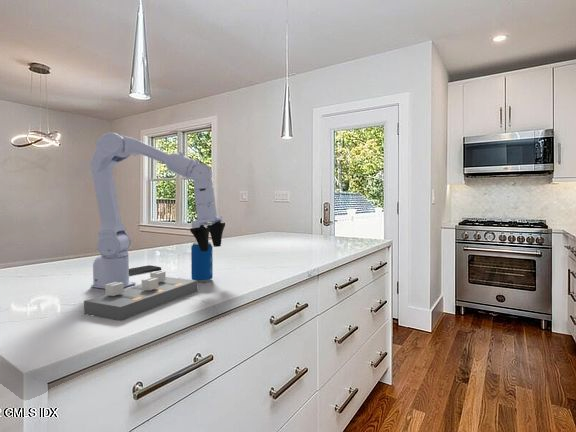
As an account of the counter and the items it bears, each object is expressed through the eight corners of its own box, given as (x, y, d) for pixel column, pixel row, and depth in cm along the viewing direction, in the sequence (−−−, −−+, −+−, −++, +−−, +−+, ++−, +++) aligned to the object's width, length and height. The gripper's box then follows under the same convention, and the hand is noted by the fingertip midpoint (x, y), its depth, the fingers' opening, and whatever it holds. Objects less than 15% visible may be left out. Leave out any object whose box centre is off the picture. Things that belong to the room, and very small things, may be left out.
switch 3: (150, 281, 94) (150, 272, 93) (158, 279, 96) (158, 270, 96) (157, 282, 93) (157, 273, 92) (165, 280, 95) (165, 271, 95)
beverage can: (207, 283, 106) (207, 244, 105) (187, 282, 107) (187, 243, 106) (215, 278, 112) (215, 242, 112) (197, 277, 113) (197, 241, 113)
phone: (162, 267, 126) (123, 274, 114) (162, 270, 126) (123, 278, 114) (149, 265, 131) (110, 271, 118) (149, 268, 131) (110, 275, 118)
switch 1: (105, 294, 81) (105, 284, 80) (116, 291, 83) (116, 281, 83) (113, 296, 80) (113, 285, 80) (124, 292, 82) (123, 282, 82)
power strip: (84, 314, 77) (83, 300, 77) (177, 283, 106) (177, 273, 106) (120, 321, 73) (120, 306, 73) (208, 286, 102) (208, 276, 101)
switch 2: (141, 289, 86) (141, 279, 85) (150, 286, 88) (150, 276, 88) (149, 290, 85) (149, 280, 84) (158, 287, 87) (158, 277, 87)
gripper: (204, 204, 96) (210, 252, 96) (228, 201, 109) (233, 243, 110) (182, 206, 98) (189, 253, 99) (208, 203, 112) (214, 245, 112)
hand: (211, 248), depth 105 cm, fingers open, 7 cm apart
